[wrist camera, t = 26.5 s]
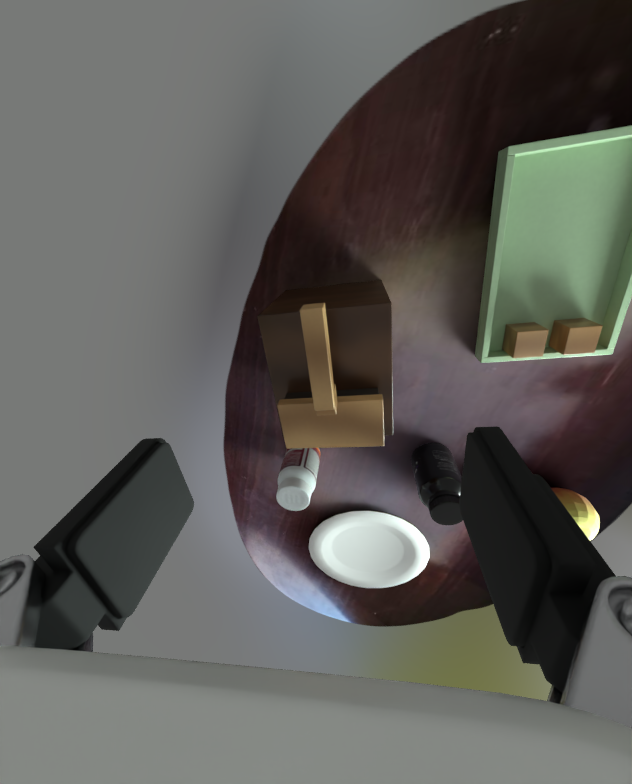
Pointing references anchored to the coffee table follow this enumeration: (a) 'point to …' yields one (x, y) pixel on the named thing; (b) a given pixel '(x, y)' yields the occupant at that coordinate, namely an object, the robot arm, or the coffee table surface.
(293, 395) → the brush
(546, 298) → the tray
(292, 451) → the pill bottle
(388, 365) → the stand
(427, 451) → the supplement bottle
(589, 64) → the coffee table surface
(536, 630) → the robot arm
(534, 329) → the cork block
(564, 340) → the brown cube
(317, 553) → the plate
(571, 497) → the apple
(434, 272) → the coffee table surface
